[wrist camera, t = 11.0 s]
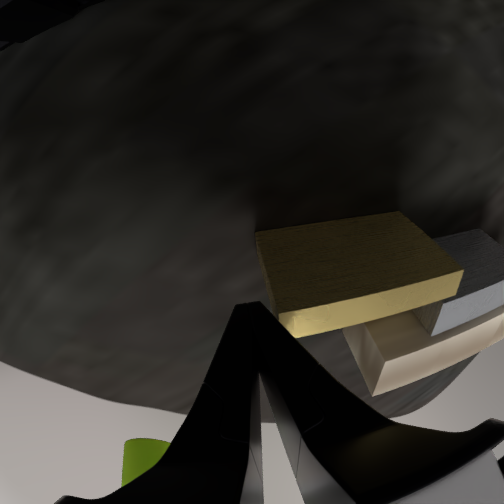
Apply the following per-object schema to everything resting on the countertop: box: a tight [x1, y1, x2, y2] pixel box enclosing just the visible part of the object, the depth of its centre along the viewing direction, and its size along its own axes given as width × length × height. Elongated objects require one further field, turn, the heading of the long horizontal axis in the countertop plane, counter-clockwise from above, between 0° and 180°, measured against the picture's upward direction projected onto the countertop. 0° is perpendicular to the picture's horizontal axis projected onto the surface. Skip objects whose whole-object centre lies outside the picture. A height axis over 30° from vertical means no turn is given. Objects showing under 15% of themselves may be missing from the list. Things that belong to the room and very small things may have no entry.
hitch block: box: [342, 304, 504, 396], centre depth 14 cm, size 3×12×5 cm, turn 96°
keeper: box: [255, 211, 464, 338], centre depth 11 cm, size 1×7×5 cm, turn 96°
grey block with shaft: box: [412, 228, 504, 336], centre depth 15 cm, size 9×7×5 cm
